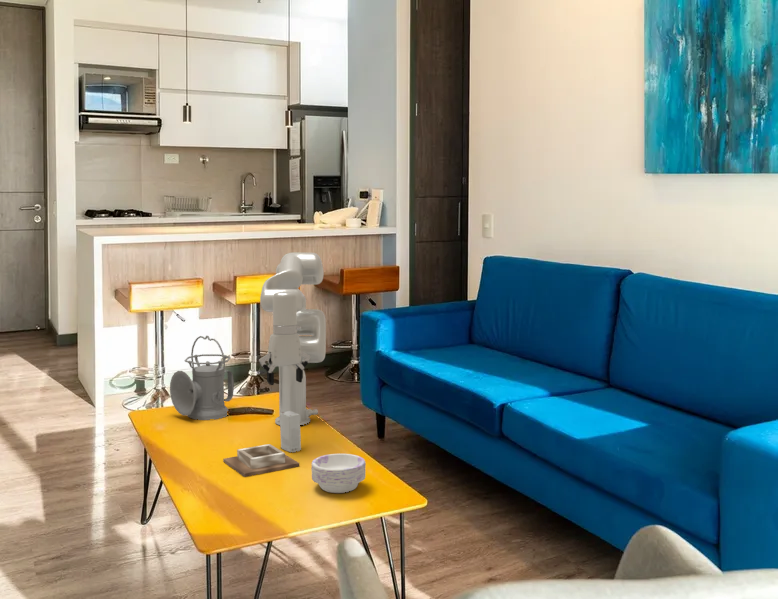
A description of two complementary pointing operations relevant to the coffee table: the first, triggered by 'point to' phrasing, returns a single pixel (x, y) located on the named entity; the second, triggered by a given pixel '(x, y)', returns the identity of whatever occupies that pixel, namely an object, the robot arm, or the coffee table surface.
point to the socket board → (260, 460)
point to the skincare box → (290, 431)
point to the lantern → (202, 388)
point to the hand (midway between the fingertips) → (285, 383)
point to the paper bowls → (338, 472)
